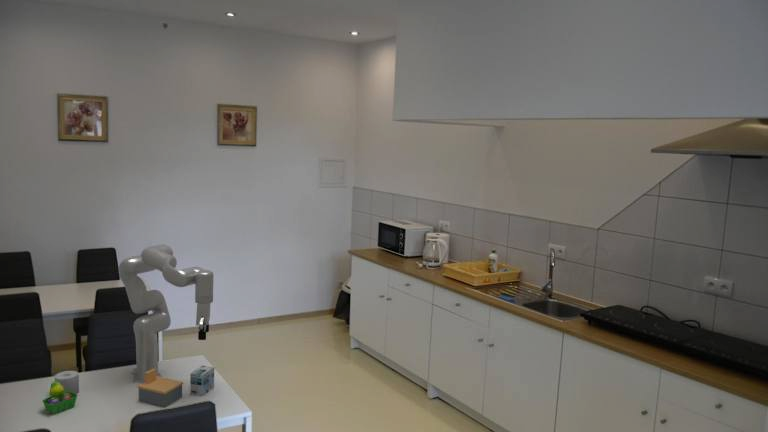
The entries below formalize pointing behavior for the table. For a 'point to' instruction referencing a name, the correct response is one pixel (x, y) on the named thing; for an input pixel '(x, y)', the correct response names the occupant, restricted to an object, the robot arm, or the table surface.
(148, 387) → the lid
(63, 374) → the toilet tissue
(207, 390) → the light bulb box
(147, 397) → the tub
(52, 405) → the fruit basket
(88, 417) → the table surface
